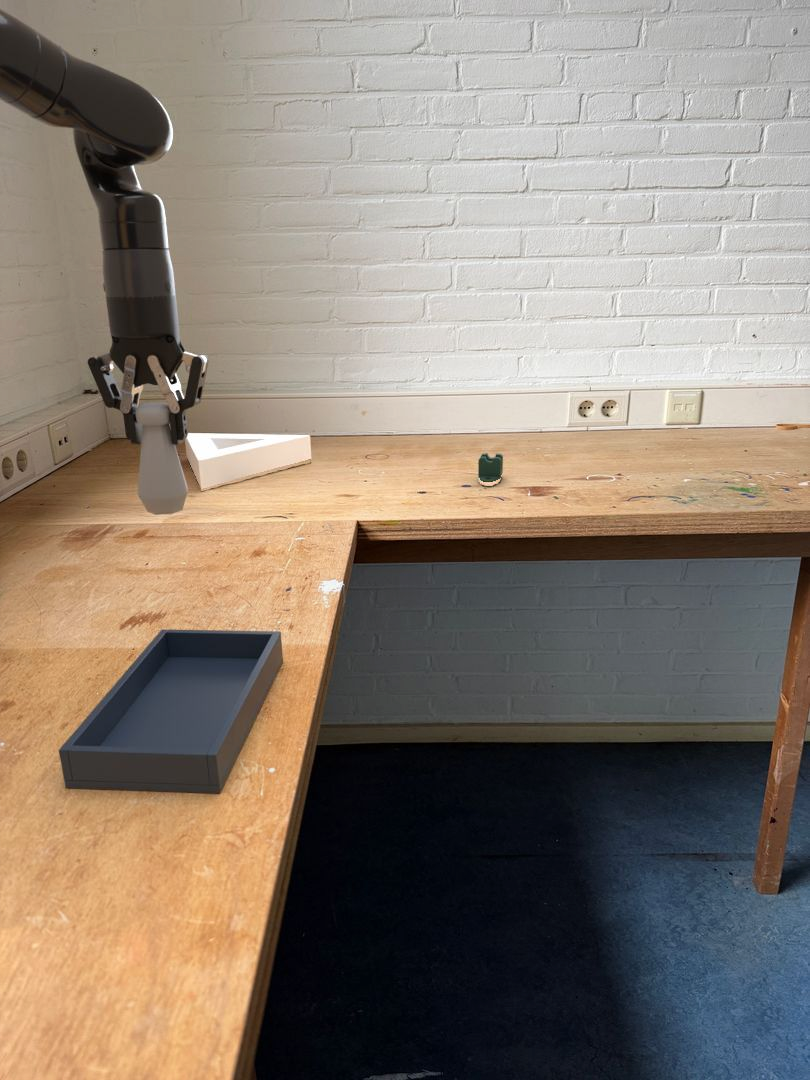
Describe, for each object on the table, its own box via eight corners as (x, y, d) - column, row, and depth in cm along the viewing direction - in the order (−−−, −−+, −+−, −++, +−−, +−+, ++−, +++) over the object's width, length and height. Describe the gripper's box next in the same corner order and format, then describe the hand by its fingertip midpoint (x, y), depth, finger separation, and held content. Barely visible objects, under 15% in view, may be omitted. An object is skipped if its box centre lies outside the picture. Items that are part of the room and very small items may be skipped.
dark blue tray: (65, 788, 68) (58, 750, 67) (165, 659, 91) (161, 629, 89) (220, 793, 67) (215, 755, 66) (283, 661, 89) (280, 631, 88)
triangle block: (311, 463, 180) (310, 435, 178) (273, 494, 156) (271, 462, 154) (187, 459, 185) (184, 432, 183) (131, 489, 161) (127, 459, 159)
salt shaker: (156, 519, 93) (143, 408, 89) (131, 511, 97) (117, 404, 93) (199, 509, 98) (188, 402, 93) (173, 501, 101) (162, 398, 97)
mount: (498, 487, 157) (498, 462, 156) (475, 486, 158) (476, 461, 157) (504, 473, 167) (504, 450, 166) (483, 472, 168) (483, 449, 167)
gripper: (213, 291, 92) (225, 437, 98) (94, 292, 93) (113, 437, 99) (192, 293, 85) (206, 450, 91) (63, 294, 86) (85, 450, 92)
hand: (157, 442), depth 95 cm, fingers closed on salt shaker, 4 cm apart
